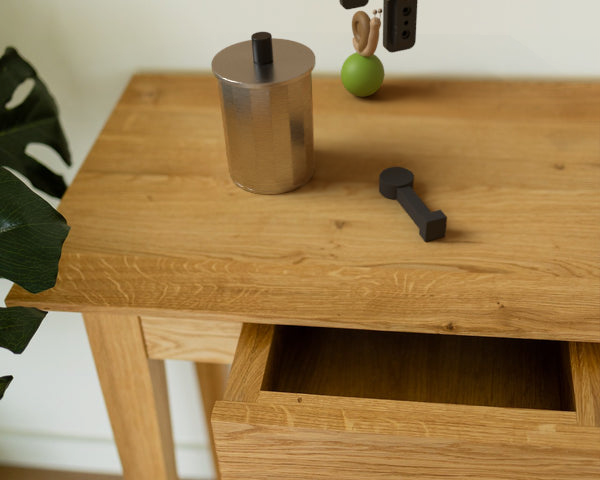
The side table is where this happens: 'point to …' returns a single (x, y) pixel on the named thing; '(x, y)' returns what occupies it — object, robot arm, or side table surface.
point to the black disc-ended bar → (412, 202)
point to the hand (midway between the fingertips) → (375, 26)
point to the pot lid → (263, 62)
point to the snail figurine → (363, 57)
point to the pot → (269, 136)
